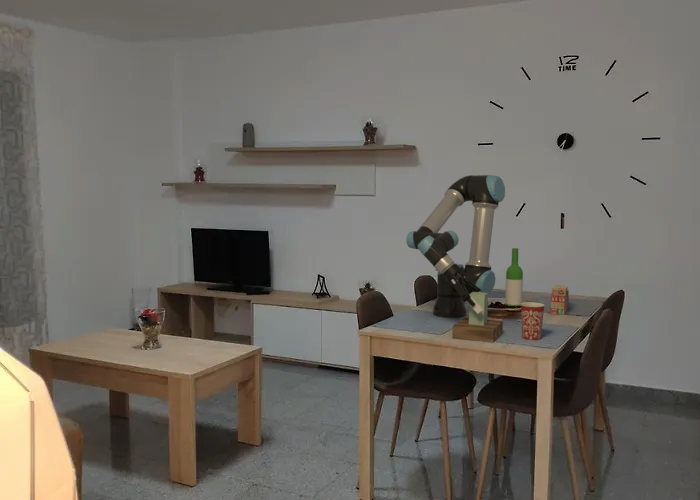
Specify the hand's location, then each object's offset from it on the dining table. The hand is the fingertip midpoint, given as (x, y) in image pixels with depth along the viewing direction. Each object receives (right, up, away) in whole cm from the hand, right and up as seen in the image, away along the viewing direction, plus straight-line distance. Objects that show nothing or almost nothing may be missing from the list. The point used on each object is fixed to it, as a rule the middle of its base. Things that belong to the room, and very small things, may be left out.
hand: (484, 308), depth 260 cm
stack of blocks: (+47, -6, +55) cm, 73 cm away
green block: (-2, -6, +2) cm, 7 cm away
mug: (+19, -12, 0) cm, 22 cm away
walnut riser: (-2, -11, +2) cm, 11 cm away
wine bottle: (+25, -6, +54) cm, 60 cm away
